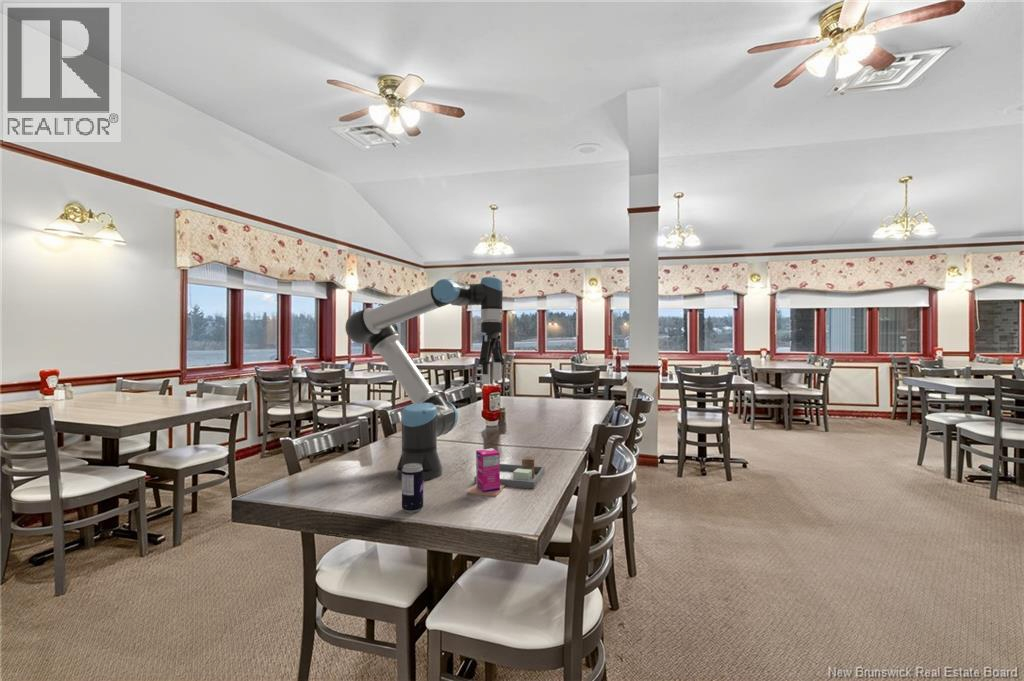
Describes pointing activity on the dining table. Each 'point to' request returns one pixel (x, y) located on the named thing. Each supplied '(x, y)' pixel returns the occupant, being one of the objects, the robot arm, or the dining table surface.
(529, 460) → the walnut block
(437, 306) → the robot arm
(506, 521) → the dining table surface
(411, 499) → the beverage can
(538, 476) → the bin
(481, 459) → the supplement box
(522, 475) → the pale green box
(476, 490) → the pad
